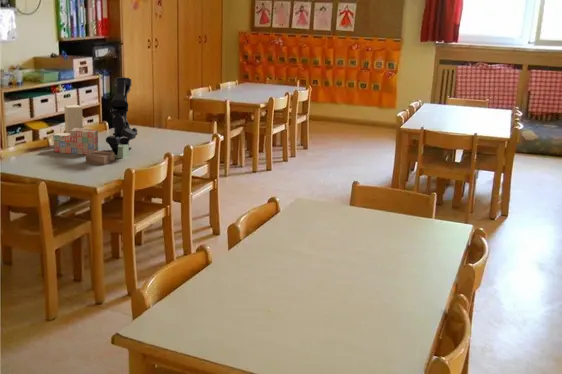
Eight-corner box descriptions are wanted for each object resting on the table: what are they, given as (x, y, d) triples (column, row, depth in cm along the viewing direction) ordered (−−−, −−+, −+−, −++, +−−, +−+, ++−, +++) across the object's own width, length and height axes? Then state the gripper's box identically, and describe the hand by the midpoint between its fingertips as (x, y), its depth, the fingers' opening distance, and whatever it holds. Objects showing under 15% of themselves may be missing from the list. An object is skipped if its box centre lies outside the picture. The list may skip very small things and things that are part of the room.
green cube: (118, 154, 315) (118, 143, 313) (128, 156, 314) (128, 144, 312) (112, 157, 309) (112, 146, 308) (123, 158, 308) (122, 147, 306)
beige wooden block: (80, 142, 336) (78, 104, 330) (83, 144, 330) (82, 107, 324) (65, 143, 332) (63, 105, 326) (68, 146, 326) (66, 107, 320)
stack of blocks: (54, 152, 313) (52, 129, 309) (59, 149, 319) (57, 126, 315) (94, 155, 312) (93, 131, 308) (98, 152, 318) (97, 129, 314)
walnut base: (96, 158, 306) (96, 150, 305) (114, 160, 304) (114, 152, 303) (86, 162, 297) (85, 154, 296) (104, 165, 294) (104, 157, 293)
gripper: (125, 128, 296) (126, 159, 301) (142, 121, 313) (143, 150, 318) (104, 126, 298) (105, 156, 303) (123, 119, 316) (124, 148, 320)
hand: (120, 153), depth 311 cm, fingers open, 9 cm apart
